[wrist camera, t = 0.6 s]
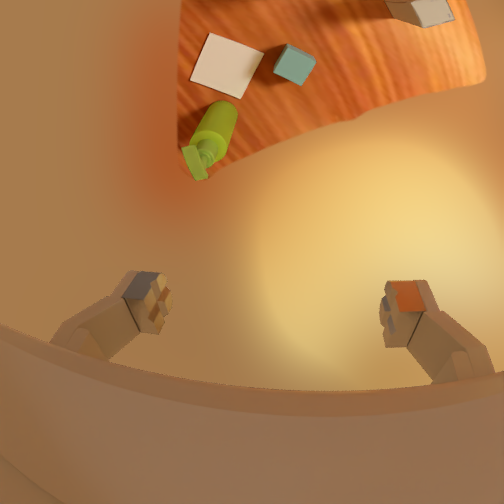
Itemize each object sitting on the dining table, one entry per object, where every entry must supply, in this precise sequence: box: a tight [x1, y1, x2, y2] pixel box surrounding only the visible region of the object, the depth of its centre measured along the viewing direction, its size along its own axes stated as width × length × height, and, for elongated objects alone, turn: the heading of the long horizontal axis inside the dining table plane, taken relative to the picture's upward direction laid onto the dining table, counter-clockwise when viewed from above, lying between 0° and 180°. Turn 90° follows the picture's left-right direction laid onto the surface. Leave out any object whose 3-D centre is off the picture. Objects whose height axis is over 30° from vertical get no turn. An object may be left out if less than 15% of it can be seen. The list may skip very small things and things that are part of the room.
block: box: [273, 44, 316, 86], centre depth 39 cm, size 5×5×5 cm
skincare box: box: [384, 0, 455, 28], centre depth 24 cm, size 6×4×12 cm
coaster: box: [190, 33, 264, 99], centre depth 42 cm, size 10×10×1 cm
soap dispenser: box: [182, 101, 238, 181], centre depth 43 cm, size 6×7×20 cm
